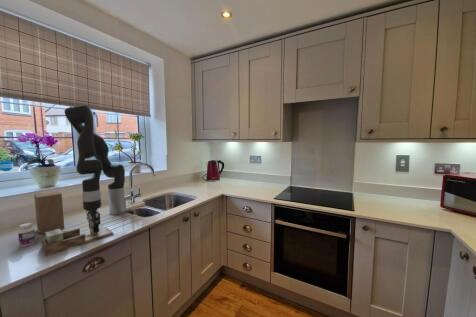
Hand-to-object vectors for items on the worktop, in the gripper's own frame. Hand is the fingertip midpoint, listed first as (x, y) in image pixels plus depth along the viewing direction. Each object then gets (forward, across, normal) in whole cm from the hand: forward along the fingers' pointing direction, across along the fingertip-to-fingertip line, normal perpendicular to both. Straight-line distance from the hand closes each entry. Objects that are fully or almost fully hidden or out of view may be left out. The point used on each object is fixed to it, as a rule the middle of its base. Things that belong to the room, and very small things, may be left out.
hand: (94, 230), depth 104 cm
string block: (+2, 0, +8) cm, 8 cm away
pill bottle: (+4, +15, +23) cm, 28 cm away
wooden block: (+4, +29, +13) cm, 32 cm away
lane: (+3, 0, +6) cm, 7 cm away
